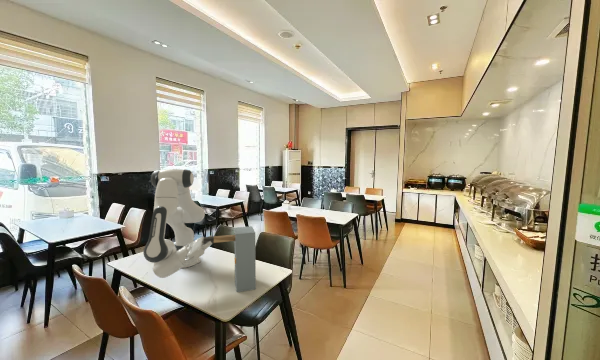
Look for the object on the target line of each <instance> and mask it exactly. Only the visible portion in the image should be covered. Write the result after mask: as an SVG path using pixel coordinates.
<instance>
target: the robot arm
mask: <svg viewBox="0 0 600 360" xmlns="http://www.w3.org/2000/svg"><path fill="white" fill-rule="evenodd" d="M194 180H195V178H194V174H193V172H192V171H191V170H190V169H179V168H178V169H177V168H171V169H170V168H169V169H157V170H154V171H153V172H152V173H151V176H150V183H151V185H152V186H153V187H154V188H155V193H154V202H153V203H154V204H153V205H154V206H153V211H152V212H153V213H152V216H151V222H150V223H151V224H150V228H149V235H148V239H147V242H146V244H145V246H144V248H143V257H144V259H145V260H146V261H148V262H150V263H153V267H152V271H153V273H154V275H155V276H157V277H158V278H161V279H165V278H168V277H170V276H172V275H174V274H175V273H177V272H178V271H180V270H181V269H185V268H191V267H192V266H195V265H197V264H200V263H201V258H200V257H201V256H203V255H204V254H205V251H206V250H207V249H208V248H209V247H210V246H211V245H213V243H212V242H211V241H209V242H207V243H206V244H204V241H203V239H204V236H201V237H199V238H197V239H195V235H194V234H195V233H194V232H195V231H193V229H192V228H191V227H187V225H186V224H193V223H194V224H195V223H199V222H202V221H203V220H204V218H205V216H206V215H205V214H206V212H205V210H204V208H203V207H201V206H199V204H197V203H196V202H194V200H193V199H192V195H191V191H190V187H191V186H192V185H193V184H194ZM167 224H168V225H169V226H170V227H171V229H172V230H173V232H174V238H175V239H174V240H175V242H173V241H172V240H171V239H165V235H166V226H167ZM211 236H212V235H209V236H208V237H211ZM194 239H195V240H194Z"/></svg>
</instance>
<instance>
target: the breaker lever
mask: <svg viewBox="0 0 600 360" xmlns="http://www.w3.org/2000/svg"><path fill="white" fill-rule="evenodd" d="M203 238H204V239H203V241H204V244H206V243H207V242H209V241H211V242H212V244H215V243H224V242H225V243H228V242H234V241H235V235H234V234H227V235H217V236H212V235H211V237H209V236H203Z"/></svg>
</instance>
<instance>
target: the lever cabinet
mask: <svg viewBox="0 0 600 360" xmlns="http://www.w3.org/2000/svg"><path fill="white" fill-rule="evenodd" d="M233 233H234V234H233V235H235V241H233V242H234V244H233V245H234V283H235V290H236V293H240V292H246V291H252V290H256V289H257V287H256V285H257V283H256V277H257V276H256V274H257V271H256V265H257V264H256V263H257V262H256V231H255V229H254V227H253V226H240V227H234V229H233Z"/></svg>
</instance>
